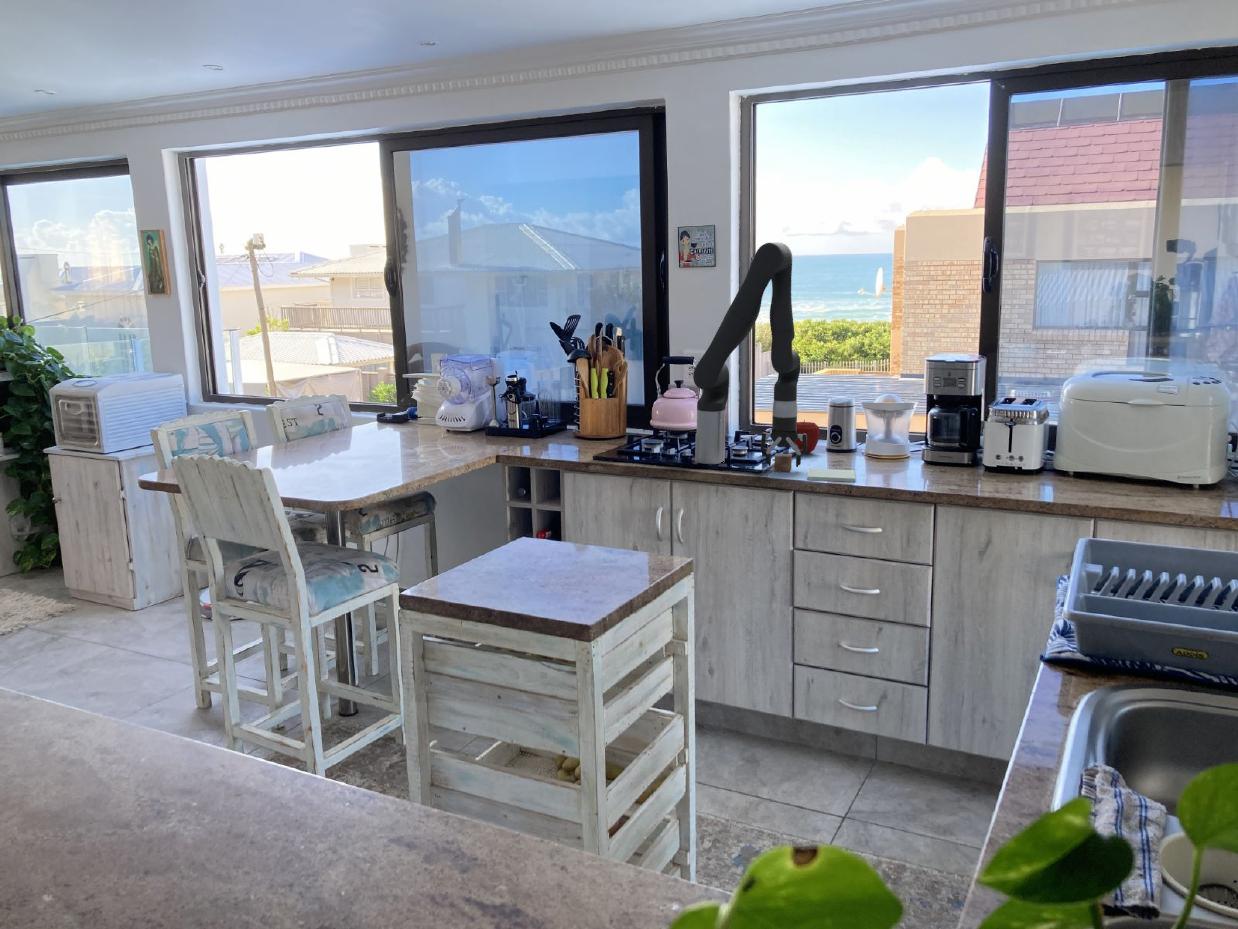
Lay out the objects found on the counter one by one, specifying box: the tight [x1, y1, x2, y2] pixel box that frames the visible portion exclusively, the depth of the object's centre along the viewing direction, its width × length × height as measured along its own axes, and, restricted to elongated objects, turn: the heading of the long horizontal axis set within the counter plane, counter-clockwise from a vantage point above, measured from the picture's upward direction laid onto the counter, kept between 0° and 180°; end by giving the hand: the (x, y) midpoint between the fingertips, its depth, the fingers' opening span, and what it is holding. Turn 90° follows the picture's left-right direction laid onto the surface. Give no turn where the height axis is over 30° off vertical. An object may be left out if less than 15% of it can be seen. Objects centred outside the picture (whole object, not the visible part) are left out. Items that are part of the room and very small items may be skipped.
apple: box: [791, 419, 821, 455], centre depth 332 cm, size 11×11×12 cm
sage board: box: [807, 468, 857, 483], centre depth 296 cm, size 14×12×1 cm
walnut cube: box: [773, 452, 793, 473], centre depth 305 cm, size 5×5×5 cm
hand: (783, 466), depth 305 cm, fingers open, 8 cm apart
